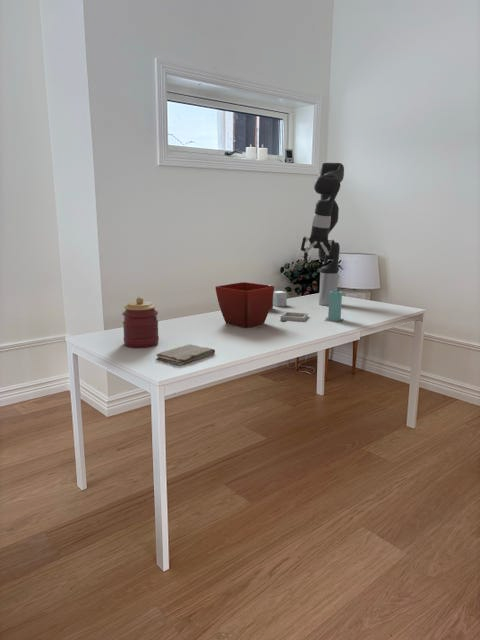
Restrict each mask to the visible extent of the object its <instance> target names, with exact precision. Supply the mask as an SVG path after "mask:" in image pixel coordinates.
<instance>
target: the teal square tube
mask: <svg viewBox="0 0 480 640" xmlns="http://www.w3.org/2000/svg"><path fill="white" fill-rule="evenodd" d="M342 300H343V291H341V290H337V291H330V293H329V306H328V312H327V313H328V315H327V317H328V321H327V322H329V321H340V319H342V317H341V316H342Z"/></svg>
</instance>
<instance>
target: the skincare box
mask: <svg viewBox="0 0 480 640" xmlns="http://www.w3.org/2000/svg"><path fill="white" fill-rule="evenodd" d="M287 297H288V292H286V291H282V290H276V291H275V290H274V293H273V307H279V308H280V307H287V306H288V304H287V301H288V300H287V299H288V298H287Z"/></svg>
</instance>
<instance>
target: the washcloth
mask: <svg viewBox="0 0 480 640" xmlns="http://www.w3.org/2000/svg"><path fill="white" fill-rule="evenodd" d="M215 352H216V350H215V349H213V348H209V347H207V346H206V347H203V346H199V345H196V344H195V345H194V344H186V345H183V346H178V347H174V348H172V349H168V350H165V351H162V352H158V353H156V357H157V358H155V359H156V360H157V361H160V362H163V363H167V364H170V365H173V366H177V367H179V366H185V365H188V364H191V363H194V362H197V361H200V360H203V359H206V358H208V357H212V356H214V355H215Z"/></svg>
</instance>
